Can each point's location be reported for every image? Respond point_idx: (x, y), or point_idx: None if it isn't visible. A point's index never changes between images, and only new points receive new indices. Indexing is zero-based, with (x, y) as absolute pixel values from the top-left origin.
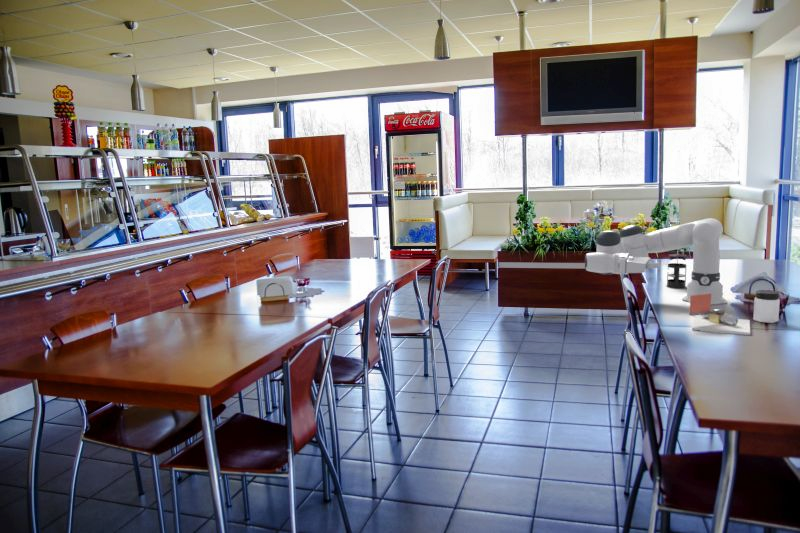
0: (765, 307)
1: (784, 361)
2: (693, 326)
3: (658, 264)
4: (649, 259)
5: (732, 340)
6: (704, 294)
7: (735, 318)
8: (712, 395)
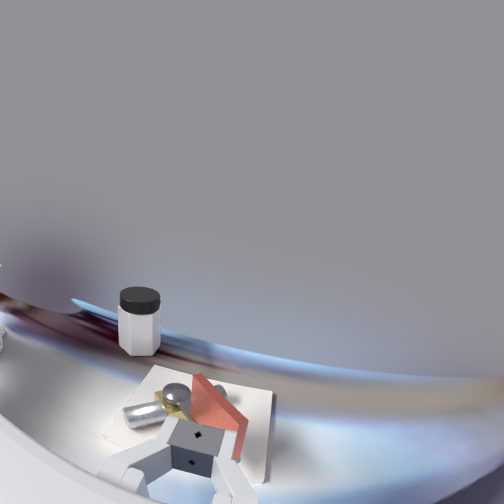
0: (155, 326)
1: (407, 380)
2: (248, 475)
3: (235, 441)
4: (31, 437)
5: (329, 423)
6: (211, 388)
7: (221, 386)
8: None
